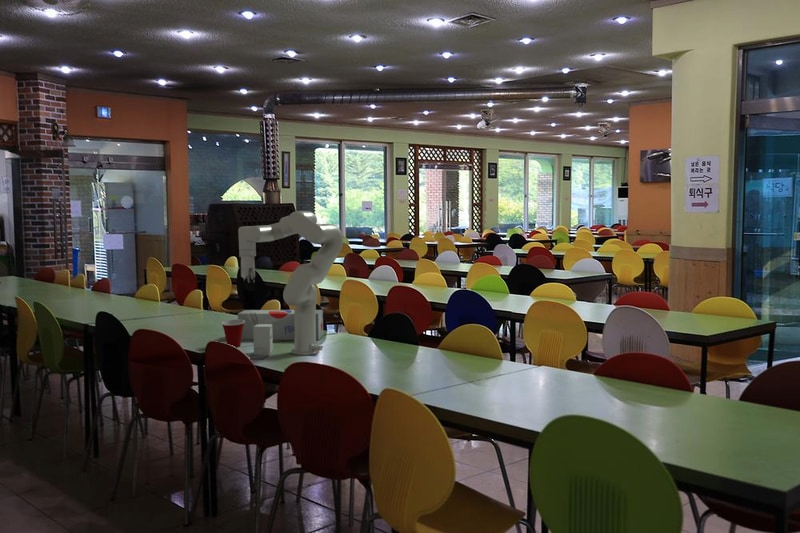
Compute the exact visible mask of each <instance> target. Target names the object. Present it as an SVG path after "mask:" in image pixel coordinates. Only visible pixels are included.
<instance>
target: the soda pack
mask: <svg viewBox="0 0 800 533" xmlns="http://www.w3.org/2000/svg"><path fill="white" fill-rule="evenodd" d="M294 310H295V309H244V310H242V311H240V312H238V313H237V320H244V321H245V323H244V326H243V332H242V339H241V341H242V340H246V341H247V340H250V341H251V340H253V341H254V331H253V327H254V326H255V325H257V324H272V335H273V341H294ZM323 337H324V311H323V309H316V341H319V340H320V339H321V338H323Z"/></svg>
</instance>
